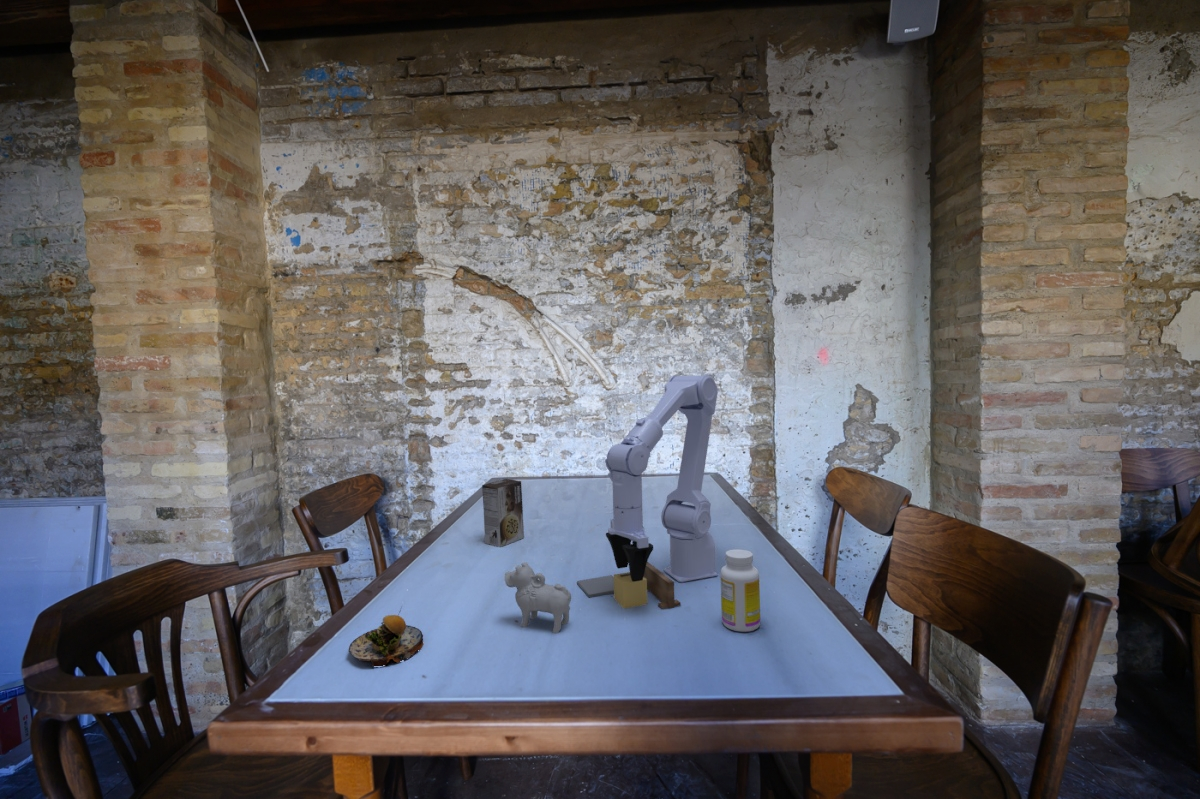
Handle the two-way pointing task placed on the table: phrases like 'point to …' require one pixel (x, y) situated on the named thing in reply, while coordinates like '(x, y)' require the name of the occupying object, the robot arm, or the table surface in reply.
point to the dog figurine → (538, 596)
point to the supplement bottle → (740, 592)
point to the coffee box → (503, 512)
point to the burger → (387, 642)
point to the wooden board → (660, 587)
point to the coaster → (597, 586)
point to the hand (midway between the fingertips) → (629, 573)
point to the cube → (629, 591)
